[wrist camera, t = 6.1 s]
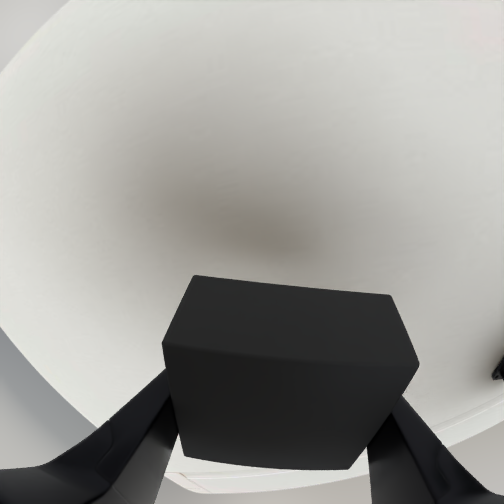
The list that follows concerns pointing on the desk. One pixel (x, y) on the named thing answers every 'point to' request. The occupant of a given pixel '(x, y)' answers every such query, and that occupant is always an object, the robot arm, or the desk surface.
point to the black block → (283, 372)
